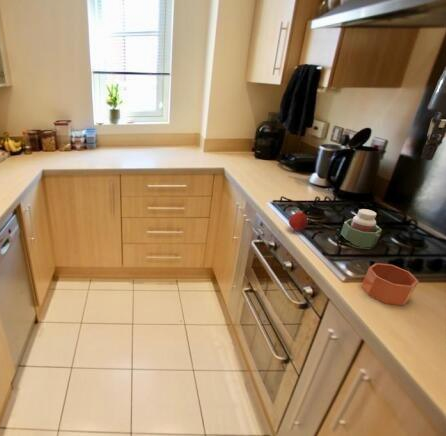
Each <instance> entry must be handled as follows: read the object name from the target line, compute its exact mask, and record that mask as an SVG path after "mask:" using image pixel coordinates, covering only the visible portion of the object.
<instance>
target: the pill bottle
mask: <svg viewBox="0 0 446 436" xmlns="http://www.w3.org/2000/svg"><path fill="white" fill-rule="evenodd" d="M376 217H377V212H375V211H374V210H371V209H366V208H361V209H358V211H357V215H355V216H353V218H352V219H353V220H352V223H351V226H350V227H351V228H354V229H357V230H360V231H362V232H373V230H374V227H375V225H377V220H376Z"/></svg>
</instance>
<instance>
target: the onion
mask: <svg viewBox="0 0 446 436" xmlns="http://www.w3.org/2000/svg"><path fill="white" fill-rule="evenodd" d="M308 223H309V219H308V217H307V215H306V214H305V213H304V212H303V211H302V210H299V211H298V212H295V213H293V214H292V215H290V217H289V218H288V224H289V226H290V228H291V229H292V230H293V231H294V232H299V231H302V230H304V229H306V227H307V226H308Z"/></svg>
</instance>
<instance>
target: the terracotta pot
mask: <svg viewBox="0 0 446 436" xmlns="http://www.w3.org/2000/svg"><path fill="white" fill-rule="evenodd" d="M419 281H420V280H418V279H417V278H416V277H415V276H414V274H412V272H410V271H408V270H406V269H405V268H404V269H403V268H401V267H399V266H397V265H394V264H389V263H380V262H375V263H374V264H372V265H371V266H369V267H368V269H367V271H366V274H365V276H364V279H363V280H362V283H361V287H362V288H363V290H364V291H365V293H366V294H367V295H368V296H369V297H372V298H374V299H376V301H377V300H378V301H379V302H381V303H384V304H386V305H396V306H404V305H405V304H407V303H408V301H410V299H411V297H412V295H413V293H414V291H415V289H416V287H417V286H418V284H419Z"/></svg>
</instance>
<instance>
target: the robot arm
mask: <svg viewBox="0 0 446 436" xmlns="http://www.w3.org/2000/svg"><path fill="white" fill-rule="evenodd" d="M427 110H428V111H431V112H436V114H435V115H436V116H435V117H432V118H431V120H430V122H429V127H428V130H427V134H426V136H427V139H426V141H425V142H424V143H425V144H424V146H423V148H422V153H421V156H420V159H421V160H424V161H432V160H433V159H434V156H435V154H436V152H437V150H438V148H439V147H440V146H441V144H443V140H444V139H445V138H446V67H445V68H444V70H443V72H442V74H441V75H440V77H439V79H438V81H437V84H436V86H435V88H434V91H433V92H432V95H431V98H430V100H429V102H428V105H427Z"/></svg>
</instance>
